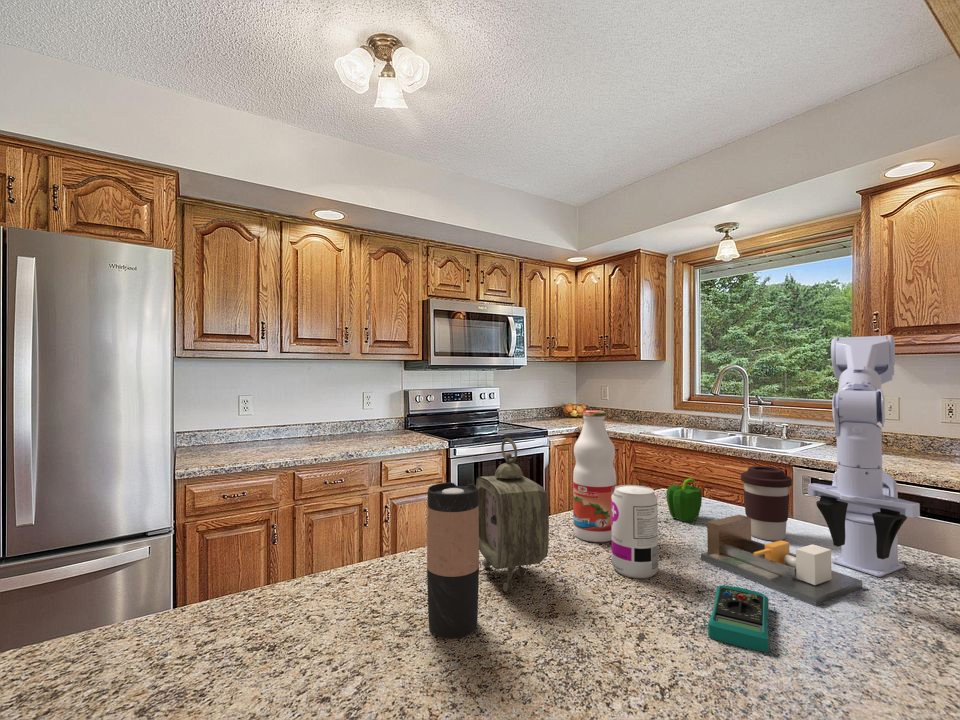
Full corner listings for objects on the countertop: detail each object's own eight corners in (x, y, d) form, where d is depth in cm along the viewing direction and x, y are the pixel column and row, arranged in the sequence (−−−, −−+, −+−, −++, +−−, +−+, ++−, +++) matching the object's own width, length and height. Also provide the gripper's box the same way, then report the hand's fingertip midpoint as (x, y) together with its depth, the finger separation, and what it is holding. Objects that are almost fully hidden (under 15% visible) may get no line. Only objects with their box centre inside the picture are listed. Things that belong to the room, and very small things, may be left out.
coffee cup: (803, 543, 104) (802, 473, 104) (756, 543, 104) (755, 473, 105) (775, 528, 114) (774, 464, 114) (733, 528, 114) (732, 464, 114)
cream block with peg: (831, 579, 83) (831, 549, 84) (815, 585, 81) (814, 554, 81) (795, 566, 89) (794, 538, 89) (778, 571, 86) (778, 543, 87)
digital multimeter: (768, 609, 77) (768, 590, 77) (768, 657, 64) (768, 635, 64) (717, 598, 80) (716, 580, 80) (707, 642, 68) (707, 620, 68)
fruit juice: (625, 537, 108) (624, 411, 109) (597, 546, 103) (596, 413, 103) (592, 526, 116) (591, 408, 116) (564, 534, 110) (564, 410, 111)
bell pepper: (670, 523, 118) (670, 482, 118) (663, 513, 126) (663, 474, 126) (707, 525, 117) (706, 483, 117) (697, 515, 125) (697, 475, 125)
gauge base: (862, 587, 83) (861, 545, 83) (816, 606, 77) (815, 560, 77) (746, 547, 102) (745, 513, 102) (700, 560, 95) (700, 523, 96)
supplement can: (609, 575, 88) (608, 492, 89) (614, 559, 96) (614, 482, 96) (657, 582, 85) (656, 496, 86) (658, 565, 93) (658, 486, 93)
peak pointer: (789, 564, 90) (789, 542, 90) (759, 574, 85) (759, 551, 86) (781, 561, 91) (781, 540, 91) (751, 571, 87) (750, 548, 87)
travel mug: (439, 645, 66) (439, 497, 66) (419, 619, 73) (419, 485, 73) (488, 631, 70) (488, 490, 70) (465, 608, 76) (465, 480, 77)
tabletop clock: (475, 565, 93) (474, 434, 93) (518, 559, 96) (518, 432, 96) (501, 599, 79) (501, 445, 80) (552, 591, 82) (551, 442, 83)
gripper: (797, 460, 82) (798, 540, 82) (902, 476, 69) (904, 572, 69) (820, 456, 86) (821, 534, 85) (925, 472, 73) (927, 563, 73)
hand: (860, 551), depth 78 cm, fingers open, 5 cm apart
